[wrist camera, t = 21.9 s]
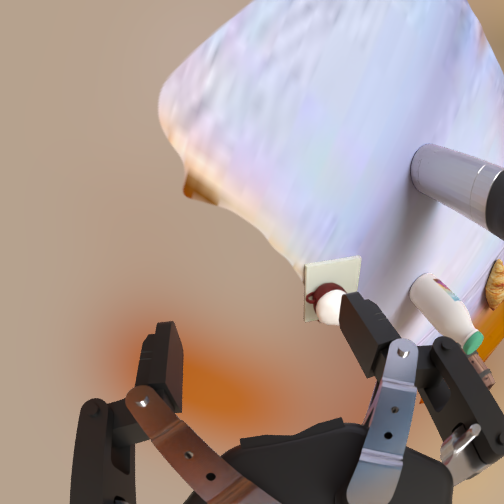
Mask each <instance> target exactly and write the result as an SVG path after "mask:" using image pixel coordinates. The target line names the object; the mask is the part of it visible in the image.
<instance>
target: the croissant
mask: <svg viewBox="0 0 504 504" xmlns="http://www.w3.org/2000/svg"><path fill="white" fill-rule="evenodd" d="M502 264H503V261H501V260H500V259H498V260H497V261H496V262H495V264H494V266H493V268H492V271H491V274H490V276H489V278H488V281H487V284H486V286H485V289H486V292H485V294H486V299H487V302H488V304H489V307H490V308H491V309H492V310H493V311H494V310H495V309H496V308H497V306H498V305H499V304H500V303H502V302H503V300H504V266H503V265H502Z"/></svg>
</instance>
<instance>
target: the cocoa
mask: <svg viewBox="0 0 504 504" xmlns="http://www.w3.org/2000/svg"><path fill="white" fill-rule="evenodd" d="M343 294H347V292H346V291H345V290H344V289H343V287H341V286H340V285H338V284H336V283H333V282H331V283H324V284H322V285H320V286H319V287H318V288H317V289H316V290H315V292H311V293H309V294H308V295H307V296H306V299H305V300H306V302H308V303H309V304H313V308H314V311H315V313H316V314H317V316H318V318H319V321H320V323H325V324H327V325H339V313H340V305H341V297H342V295H343ZM310 296H313V297H312V300H309V299H308V298H309V297H310Z"/></svg>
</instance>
